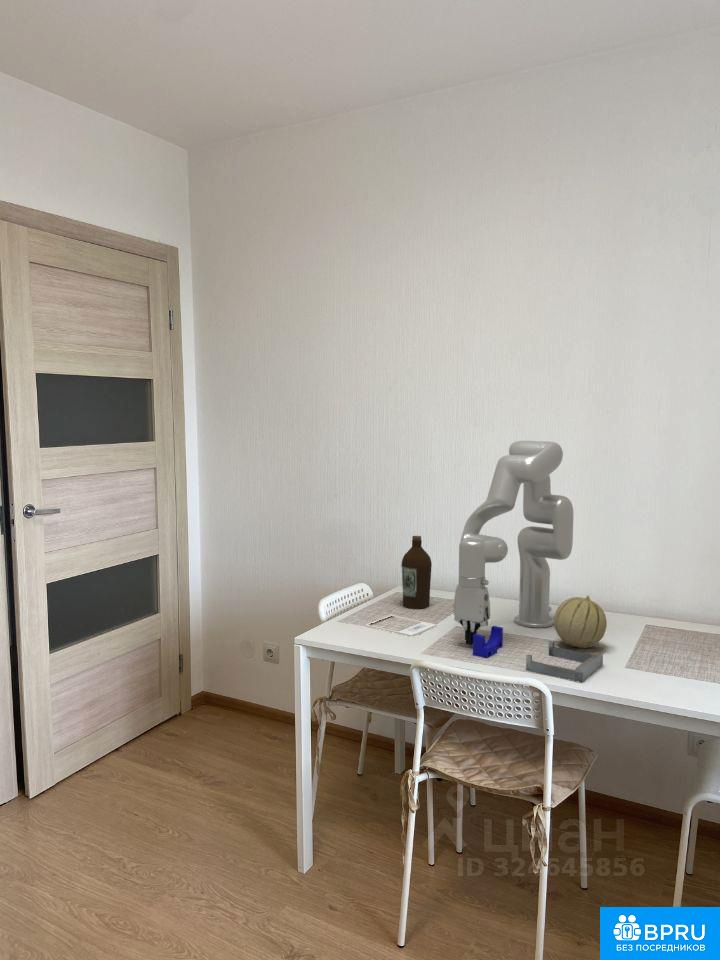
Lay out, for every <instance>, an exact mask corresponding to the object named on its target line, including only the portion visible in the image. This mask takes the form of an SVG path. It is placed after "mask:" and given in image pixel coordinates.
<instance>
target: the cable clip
mask: <svg viewBox="0 0 720 960" xmlns="http://www.w3.org/2000/svg"><path fill="white" fill-rule="evenodd" d="M490 628H491V629H490V634H489V637H488V639H487V641H486V635H483V634H479V633H477V634H474V635H473V644H472V656H476V657H480V658H484V659H489V658H491V657H493V656H494V655H496V654H498V650H499V649H501V648H503V646H504V642H503V641H504V639H503V638H504V627H503V626H496V625H493V626H491V627H490Z"/></svg>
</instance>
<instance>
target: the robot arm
mask: <svg viewBox="0 0 720 960" xmlns="http://www.w3.org/2000/svg"><path fill="white" fill-rule="evenodd" d="M563 456H564V452H563V449H562V446H561V445H560V444H559V443H557V442H555V441H547V440H546V441H543V440H542V441H541V440H518V441H514V442H512V443H511V444H510V446H509V449H508V455H503V456H501V457H500V458H499V459H498V460H497V463H496V466H495V469H494V472H493V477H492V480H491V484H490V487H489V489H488V494H487V497H486V499H485V501H484V502H483V503H482V504H480V505H479V506H478V507H477V508H476V509H475V510H473V512H472V513H471V515H469V517H468V518H467V520H466V522H465V524H464V527H463V531H462V534H461V537H460V542H459V544H458V545H459V546H458V550H459V551H458V584H456V588H455V592H454V597H453V598H454V600H453V601H454V605H453V616H454V618H453V620H454V621H455V622H456V623H459V624H460V625H461V626H462V628H463V630H464V640H465V645H469V646H473V635H474V634H478V632H477V631H478V630H479V629H480V628H486V627H488V626H489V620H490V619H491V603H490V602H491V601H490V594H489V588H488V587H487V586H489V583H490V582H489V580H487V579H486V564H487V563H489V564H491V563H493V564H494V563H499V562H501V561H503V560H504V559H505V558H506V557H507V555H508V552H509V551H508V550H509V547H508V544H507V542H506V541H505V540H504V539H502V538H500V537H499V536H498V537H497V536H491V535H485V534H480V532H481V530H482V528H484V526H485V525H486V523H488V522H489V521H490V520H492V519H493V518H495V517H498V516H500V515H503V514H506V513H509V512H510V511H512V510H514V508H515V505H516V501H517V499H518V494H519V491H520V487H521V484H523V489H522V490H523V493H522V494H523V495H522V496H523V498H522V499H523V500H522V512H523V517H524V519H525V520H526V521H528V522H531V523H536V524H542V525H552V528H550V527H542V526H533V525H532V526H526V527H523V528H522V529H521V530H520V531H519V532H518V535H517V539H516V541H517V549H518V555H519V594H518V595H519V596H518V598H519V601H518V602H519V603H518V604H519V605H518V608H519V609H518V615H515V616H514V618H513V621H514V623H515V624H517V625H519V626H522V627H527V628H536V629H537V628H539V629H540V628H549V627H552V626H553V625H554V618H552V617H551V616H550V615H549V614H550V612H551V611H552V606H550V592H551V591H550V590H551V589H550V585H551V582H550V580H551V569H550V565H549V563H548V561H547V559H549V560H550V559H552V560H557V561H558V560H559V561H560V560H561V561H564V560H566V559H568V557H570V555H571V553H572V551H573V541H574V506H573V504H572V503H573V502H572V501H571V500H570V498H568V497H567V496H565V495H560V494H559V495H558V494H552V491H551V477H550V475H551V474H552V473H554V471H556V470H557V469H558V468H559V466H560V465H561V463H562V461H563Z"/></svg>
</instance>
